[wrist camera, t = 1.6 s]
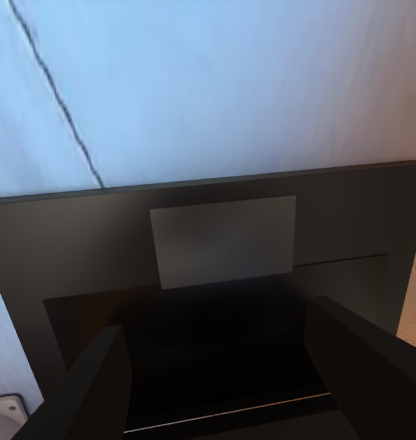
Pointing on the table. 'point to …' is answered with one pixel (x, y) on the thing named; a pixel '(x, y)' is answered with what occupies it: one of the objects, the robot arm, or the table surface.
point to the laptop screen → (262, 424)
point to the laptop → (206, 279)
